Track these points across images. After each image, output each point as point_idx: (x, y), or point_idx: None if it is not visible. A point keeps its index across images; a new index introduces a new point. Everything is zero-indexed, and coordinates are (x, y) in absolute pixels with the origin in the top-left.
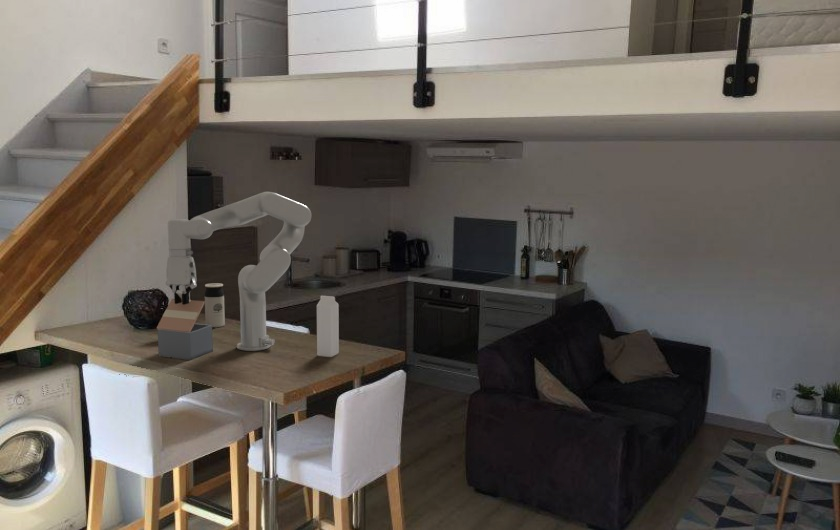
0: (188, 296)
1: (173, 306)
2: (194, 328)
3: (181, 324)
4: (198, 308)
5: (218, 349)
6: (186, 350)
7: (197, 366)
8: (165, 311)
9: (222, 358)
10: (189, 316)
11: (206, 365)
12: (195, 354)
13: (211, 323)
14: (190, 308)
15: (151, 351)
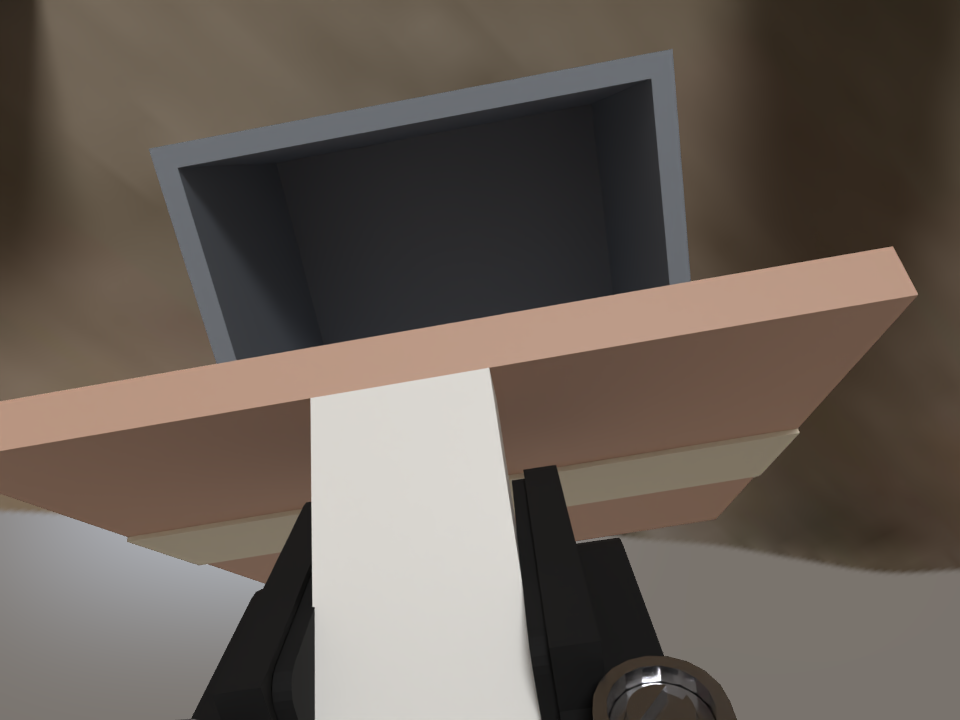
0: (647, 635)
1: (199, 500)
2: (401, 129)
3: (575, 524)
4: (785, 402)
5: (604, 8)
6: None
7: (790, 472)
8: (158, 546)
9: (830, 224)
10: (650, 482)
11: (834, 425)
12: None
13: None
14: (599, 437)
15: None
